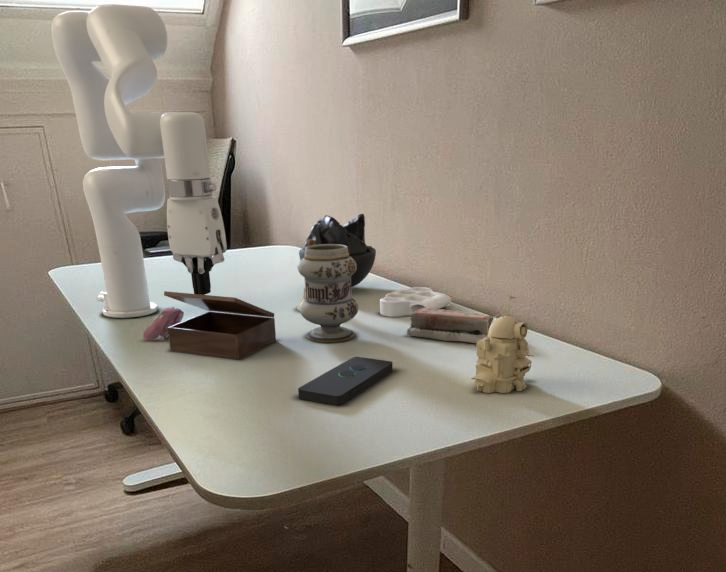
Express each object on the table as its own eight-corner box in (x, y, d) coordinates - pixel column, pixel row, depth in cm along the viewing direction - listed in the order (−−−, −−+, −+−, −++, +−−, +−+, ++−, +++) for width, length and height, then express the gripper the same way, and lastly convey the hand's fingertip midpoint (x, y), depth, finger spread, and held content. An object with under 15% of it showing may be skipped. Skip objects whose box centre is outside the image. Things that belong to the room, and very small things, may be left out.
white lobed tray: (420, 321, 159) (365, 313, 166) (457, 305, 172) (405, 298, 179) (420, 306, 157) (365, 298, 164) (458, 291, 170) (405, 284, 178)
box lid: (234, 301, 130) (235, 297, 130) (163, 295, 136) (164, 291, 136) (274, 317, 144) (274, 313, 144) (207, 310, 150) (208, 307, 150)
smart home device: (395, 361, 127) (339, 395, 112) (394, 370, 128) (340, 406, 112) (354, 355, 131) (295, 388, 115) (354, 364, 132) (295, 398, 116)
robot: (507, 400, 114) (515, 306, 107) (465, 389, 118) (469, 299, 112) (540, 383, 121) (549, 294, 114) (498, 374, 125) (505, 287, 119)
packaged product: (405, 313, 146) (423, 303, 154) (405, 336, 148) (422, 325, 156) (491, 321, 138) (505, 310, 146) (489, 346, 141) (503, 333, 149)
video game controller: (159, 349, 147) (169, 320, 144) (140, 338, 147) (149, 309, 144) (180, 336, 156) (190, 308, 152) (161, 326, 156) (171, 298, 152)
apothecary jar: (325, 325, 156) (322, 240, 148) (370, 333, 150) (369, 244, 142) (289, 338, 148) (283, 248, 139) (335, 347, 141) (332, 253, 133)
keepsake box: (239, 359, 135) (236, 335, 133) (170, 350, 141) (167, 327, 139) (276, 340, 147) (274, 317, 144) (210, 333, 152) (208, 311, 150)
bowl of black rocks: (292, 296, 182) (288, 219, 174) (310, 280, 200) (307, 209, 191) (369, 298, 179) (368, 219, 171) (381, 282, 197) (381, 209, 188)
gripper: (237, 188, 128) (246, 292, 136) (169, 187, 133) (182, 287, 141) (213, 192, 122) (224, 300, 130) (143, 191, 127) (158, 295, 135)
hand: (202, 293), depth 136 cm, fingers closed
